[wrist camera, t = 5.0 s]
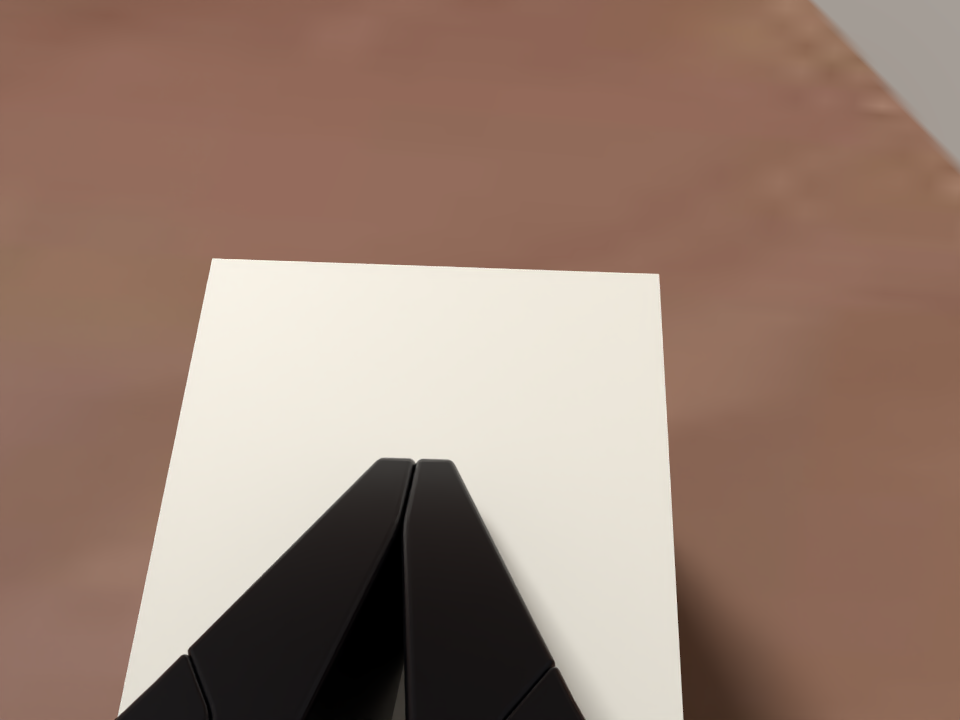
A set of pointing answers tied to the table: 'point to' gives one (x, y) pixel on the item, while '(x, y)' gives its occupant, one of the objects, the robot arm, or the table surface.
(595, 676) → the plain cream block
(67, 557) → the table surface
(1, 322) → the table surface
